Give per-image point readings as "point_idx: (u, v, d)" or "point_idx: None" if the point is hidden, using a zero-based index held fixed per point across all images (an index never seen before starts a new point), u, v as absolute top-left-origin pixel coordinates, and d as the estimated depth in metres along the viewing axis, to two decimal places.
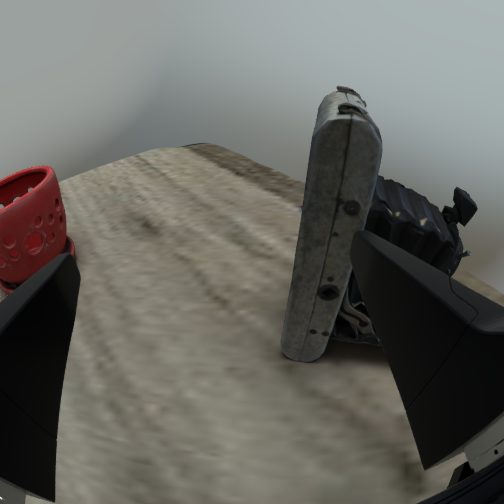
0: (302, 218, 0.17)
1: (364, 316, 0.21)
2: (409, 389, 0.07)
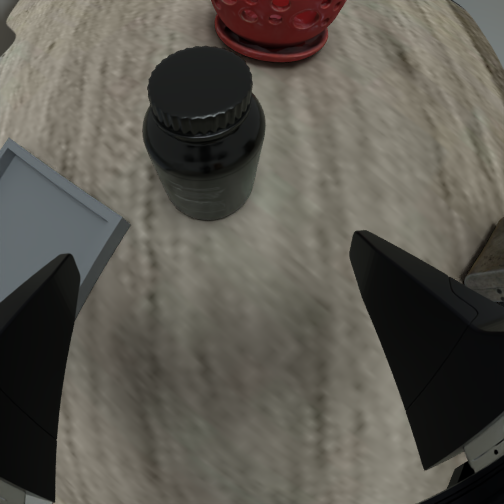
0: None
1: None
2: (409, 389, 0.07)
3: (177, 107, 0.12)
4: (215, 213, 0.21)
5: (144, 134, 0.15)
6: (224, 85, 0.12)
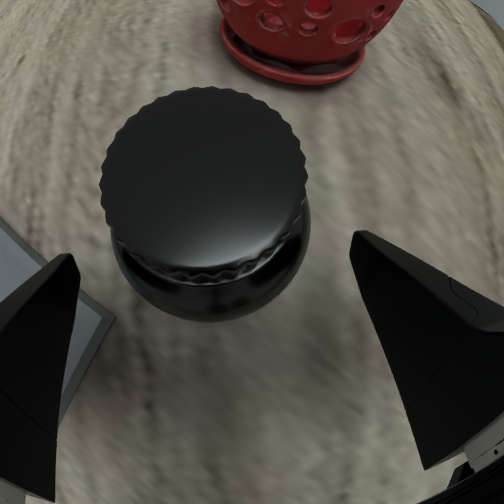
0: None
1: None
2: (409, 389, 0.07)
3: (158, 244, 0.06)
4: None
5: (113, 242, 0.09)
6: (253, 187, 0.07)
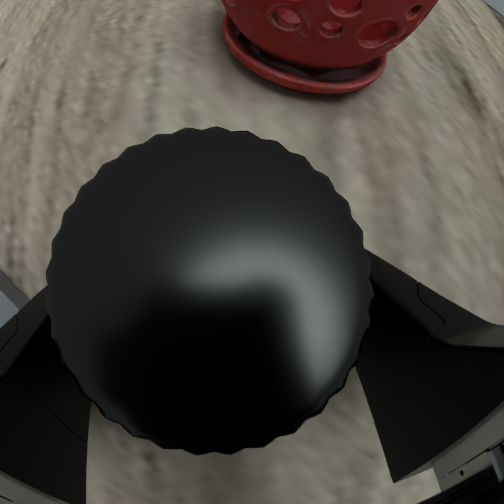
0: None
1: None
2: (376, 399, 0.07)
3: (144, 412, 0.04)
4: None
5: None
6: (291, 323, 0.04)
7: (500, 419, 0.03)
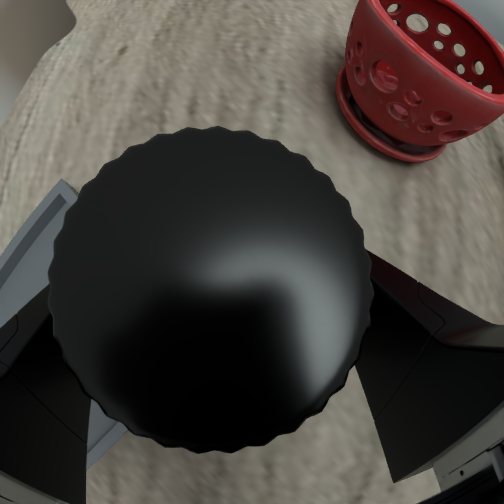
0: None
1: None
2: (376, 399, 0.07)
3: (146, 410, 0.04)
4: None
5: None
6: (291, 322, 0.04)
7: (500, 419, 0.03)
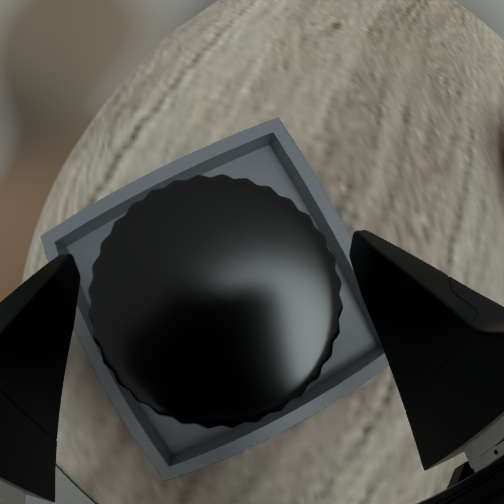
0: None
1: None
2: (409, 389, 0.07)
3: (168, 395, 0.05)
4: None
5: None
6: (278, 328, 0.05)
7: None
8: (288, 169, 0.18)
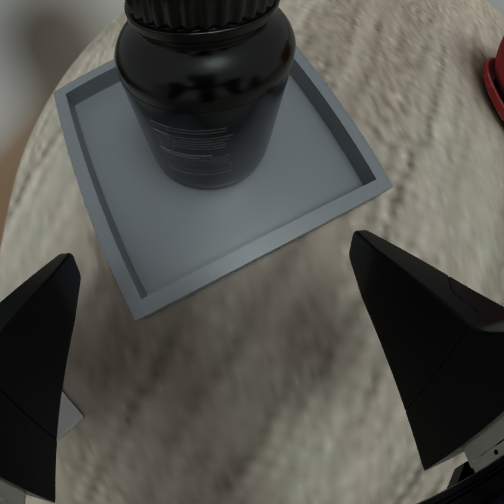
0: None
1: None
2: (409, 389, 0.07)
3: None
4: (218, 176, 0.15)
5: (116, 52, 0.09)
6: None
7: None
8: None
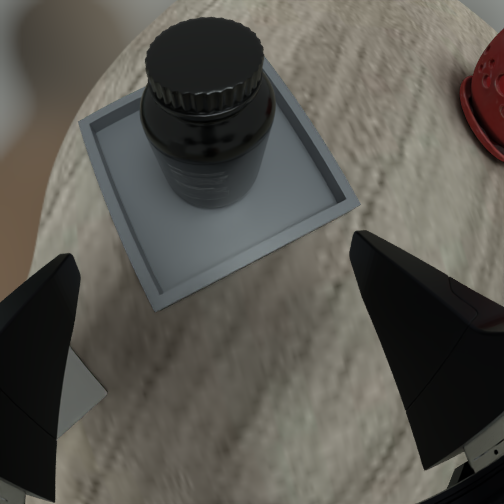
0: None
1: None
2: (409, 389, 0.07)
3: (178, 81, 0.10)
4: (219, 200, 0.20)
5: (141, 113, 0.13)
6: (232, 58, 0.10)
7: None
8: None
